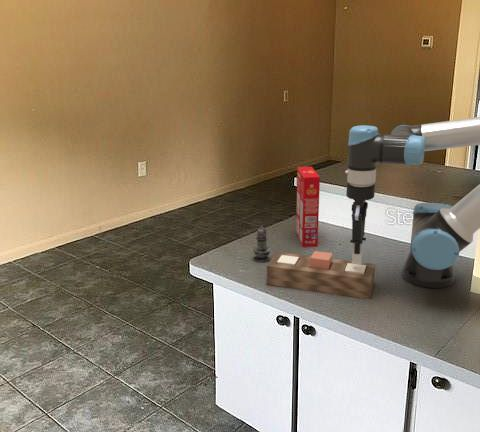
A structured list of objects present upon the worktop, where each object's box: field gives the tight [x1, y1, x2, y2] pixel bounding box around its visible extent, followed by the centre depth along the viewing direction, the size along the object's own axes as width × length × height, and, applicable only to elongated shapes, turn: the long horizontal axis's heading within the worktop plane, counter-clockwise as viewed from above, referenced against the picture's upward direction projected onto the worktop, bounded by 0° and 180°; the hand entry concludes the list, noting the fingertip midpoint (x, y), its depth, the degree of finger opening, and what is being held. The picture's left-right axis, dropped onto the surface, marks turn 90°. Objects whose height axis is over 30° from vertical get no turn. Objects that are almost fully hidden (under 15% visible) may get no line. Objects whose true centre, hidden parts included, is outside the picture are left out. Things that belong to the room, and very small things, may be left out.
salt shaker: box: [252, 224, 271, 263], centre depth 175 cm, size 6×6×12 cm
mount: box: [266, 251, 376, 300], centre depth 159 cm, size 30×11×6 cm, turn 71°
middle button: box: [310, 250, 333, 270], centre depth 157 cm, size 5×5×4 cm
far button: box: [277, 255, 299, 266], centre depth 161 cm, size 5×5×4 cm
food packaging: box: [295, 166, 321, 248], centre depth 190 cm, size 15×5×25 cm, turn 3°
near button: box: [345, 263, 366, 275], centre depth 155 cm, size 5×5×4 cm
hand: (357, 262), depth 154 cm, fingers closed
